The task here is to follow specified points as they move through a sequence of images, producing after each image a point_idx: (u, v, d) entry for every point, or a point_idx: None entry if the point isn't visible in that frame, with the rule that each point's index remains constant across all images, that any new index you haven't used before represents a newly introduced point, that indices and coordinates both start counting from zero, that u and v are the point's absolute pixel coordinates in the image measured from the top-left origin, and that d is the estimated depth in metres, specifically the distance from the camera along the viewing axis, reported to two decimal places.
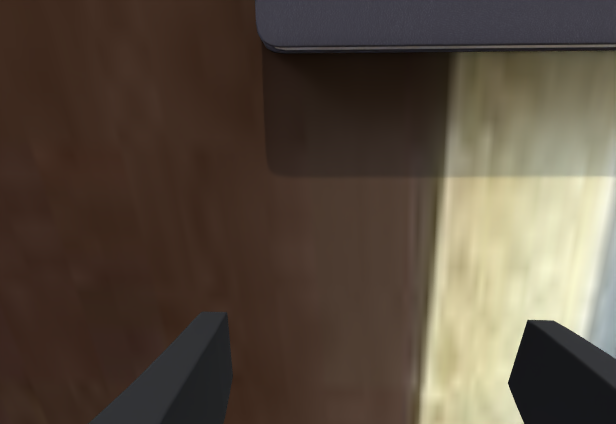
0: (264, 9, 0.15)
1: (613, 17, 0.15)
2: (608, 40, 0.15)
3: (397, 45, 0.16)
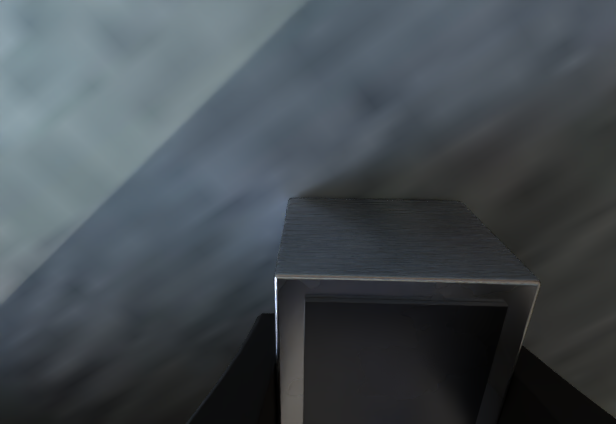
0: None
1: None
2: None
3: None
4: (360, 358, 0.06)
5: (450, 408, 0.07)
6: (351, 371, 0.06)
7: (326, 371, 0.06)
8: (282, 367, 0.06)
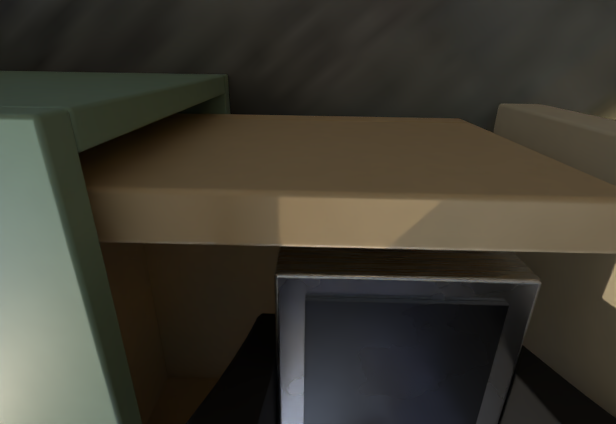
0: None
1: None
2: None
3: None
4: (360, 357, 0.06)
5: (451, 407, 0.07)
6: (351, 371, 0.06)
7: (327, 370, 0.06)
8: (282, 366, 0.06)
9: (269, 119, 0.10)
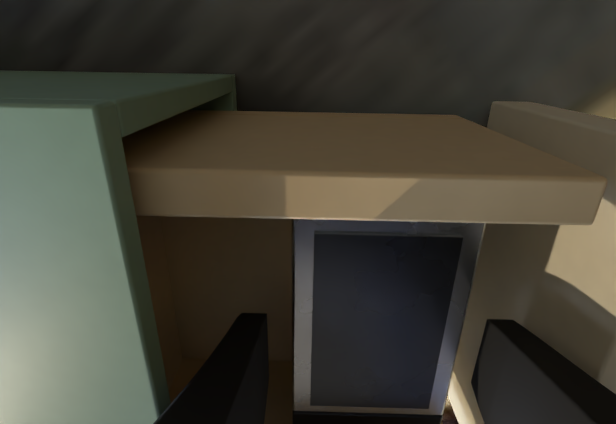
0: None
1: None
2: None
3: None
4: (355, 279, 0.08)
5: (424, 323, 0.09)
6: (348, 291, 0.08)
7: (330, 291, 0.08)
8: (296, 289, 0.09)
9: (281, 115, 0.10)
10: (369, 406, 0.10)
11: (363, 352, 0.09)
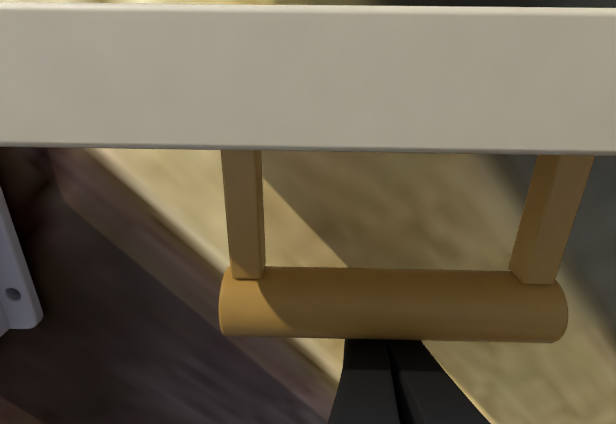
0: None
1: None
2: None
3: None
4: None
5: None
6: None
7: None
8: None
9: None
10: None
11: None
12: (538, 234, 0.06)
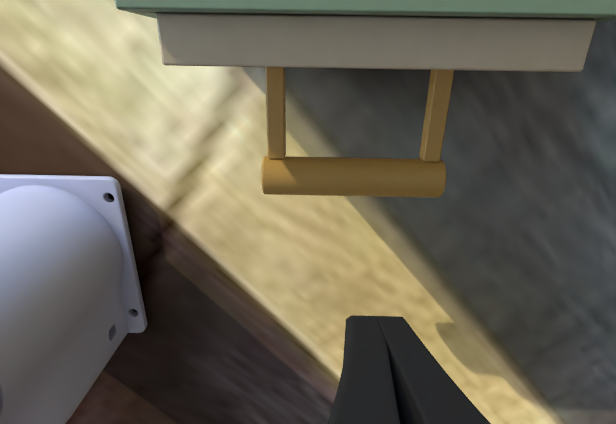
0: None
1: None
2: None
3: None
4: None
5: None
6: None
7: None
8: None
9: None
10: None
11: None
12: (428, 131, 0.12)
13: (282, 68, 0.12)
